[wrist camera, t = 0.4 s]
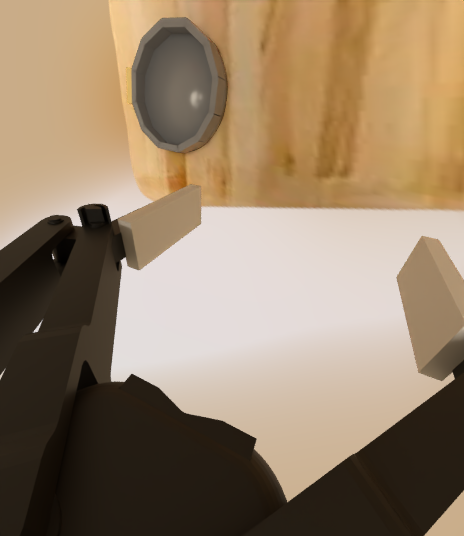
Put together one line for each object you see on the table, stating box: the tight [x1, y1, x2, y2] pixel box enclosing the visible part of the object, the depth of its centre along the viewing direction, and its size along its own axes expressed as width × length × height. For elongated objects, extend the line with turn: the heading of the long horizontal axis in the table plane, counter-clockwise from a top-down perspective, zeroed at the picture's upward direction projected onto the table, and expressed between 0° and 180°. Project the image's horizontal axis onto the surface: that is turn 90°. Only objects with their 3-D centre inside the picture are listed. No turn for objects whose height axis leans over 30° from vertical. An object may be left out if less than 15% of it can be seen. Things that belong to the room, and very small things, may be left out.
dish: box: [126, 17, 227, 153], centre depth 39 cm, size 17×18×3 cm
